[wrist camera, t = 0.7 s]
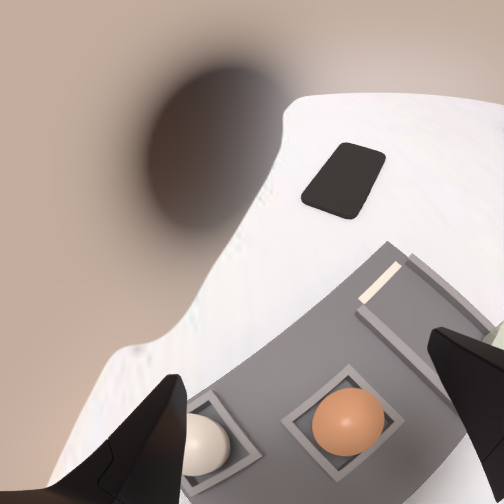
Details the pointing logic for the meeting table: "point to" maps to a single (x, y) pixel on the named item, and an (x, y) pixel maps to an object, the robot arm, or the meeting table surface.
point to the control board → (336, 378)
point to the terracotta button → (348, 422)
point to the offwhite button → (204, 446)
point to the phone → (344, 180)
